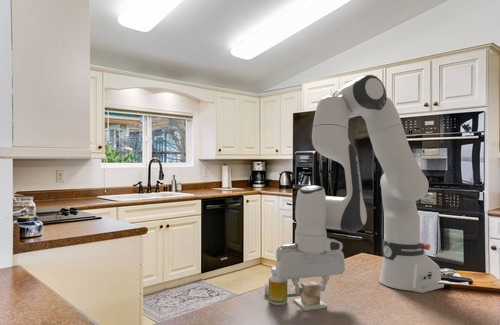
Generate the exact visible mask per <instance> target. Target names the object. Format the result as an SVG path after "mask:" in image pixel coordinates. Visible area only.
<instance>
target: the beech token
mask: <svg viewBox="0 0 500 325" xmlns="http://www.w3.org/2000/svg"><path fill="white" fill-rule="evenodd" d="M318 284H319V283H317V282H315V281H314V280H313V281H304V282H303V281H302V282H300V286H301V287H302V293H301V295H300V298H301V300H302V301H303V302H304V303H305V304H306V305H314V304H320V300H321V292H320V285H318Z"/></svg>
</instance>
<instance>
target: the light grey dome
mask: <svg viewBox="0 0 500 325" xmlns="http://www.w3.org/2000/svg"><path fill="white" fill-rule="evenodd" d="M264 295H265V297H266V296H267V297H268V298H269V281H268V282H266V283H265V284H264Z"/></svg>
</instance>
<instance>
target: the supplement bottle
mask: <svg viewBox="0 0 500 325" xmlns="http://www.w3.org/2000/svg"><path fill="white" fill-rule="evenodd" d="M270 273H271V274H269V276H268V282H269V297H268V302H269V303H270V304H272V305H275V306H281V305H286V304H287V302H288V296H287V286H288V282H289V281H288V280H289V279H286V280H281V279H280V278H279V277H278V276H277V275H276V265H275V266H272V267H271V270H270Z"/></svg>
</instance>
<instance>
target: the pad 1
mask: <svg viewBox="0 0 500 325" xmlns="http://www.w3.org/2000/svg"><path fill="white" fill-rule="evenodd" d="M298 285H299V286H301V284H298ZM293 296H301V294H297V293H296V292H295V286H294V284H291V285H289V284H287V297H293Z"/></svg>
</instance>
